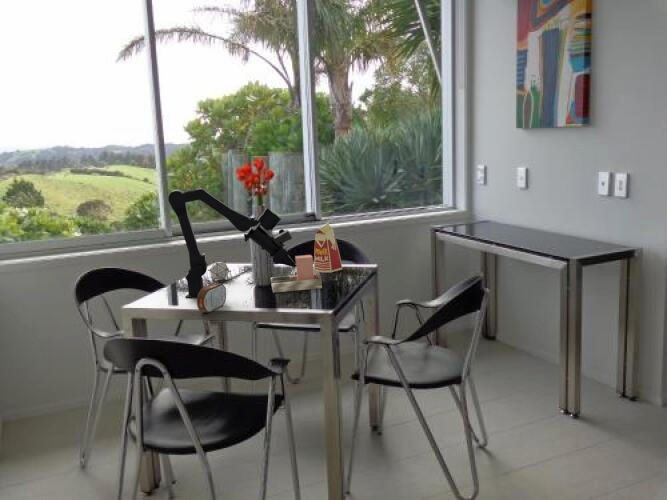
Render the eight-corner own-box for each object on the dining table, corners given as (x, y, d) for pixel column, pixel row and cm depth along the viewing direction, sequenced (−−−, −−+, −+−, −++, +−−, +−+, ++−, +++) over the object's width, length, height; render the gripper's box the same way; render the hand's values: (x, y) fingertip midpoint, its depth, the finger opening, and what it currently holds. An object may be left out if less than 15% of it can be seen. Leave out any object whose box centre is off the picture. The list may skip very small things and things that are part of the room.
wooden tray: (273, 292, 242) (272, 281, 242) (271, 285, 255) (270, 274, 255) (321, 287, 245) (321, 277, 244) (317, 280, 257) (317, 270, 257)
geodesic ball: (225, 288, 273) (237, 267, 274) (219, 285, 264) (232, 263, 265) (207, 277, 274) (219, 256, 275) (200, 274, 266) (213, 252, 267)
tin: (221, 303, 231) (218, 280, 229) (229, 304, 230) (226, 280, 228) (197, 315, 217) (194, 290, 216) (205, 316, 216) (203, 290, 215)
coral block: (298, 284, 247) (296, 258, 246) (297, 282, 252) (295, 256, 251) (314, 283, 248) (312, 257, 246) (312, 280, 253) (311, 254, 251)
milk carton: (326, 267, 283) (323, 220, 279) (343, 269, 277) (340, 221, 274) (312, 271, 276) (309, 224, 272) (329, 273, 270) (326, 224, 267)
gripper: (279, 226, 236) (312, 254, 239) (276, 220, 254) (307, 246, 258) (259, 250, 236) (292, 277, 240) (257, 242, 255) (288, 268, 258)
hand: (295, 266), depth 249 cm, fingers closed
